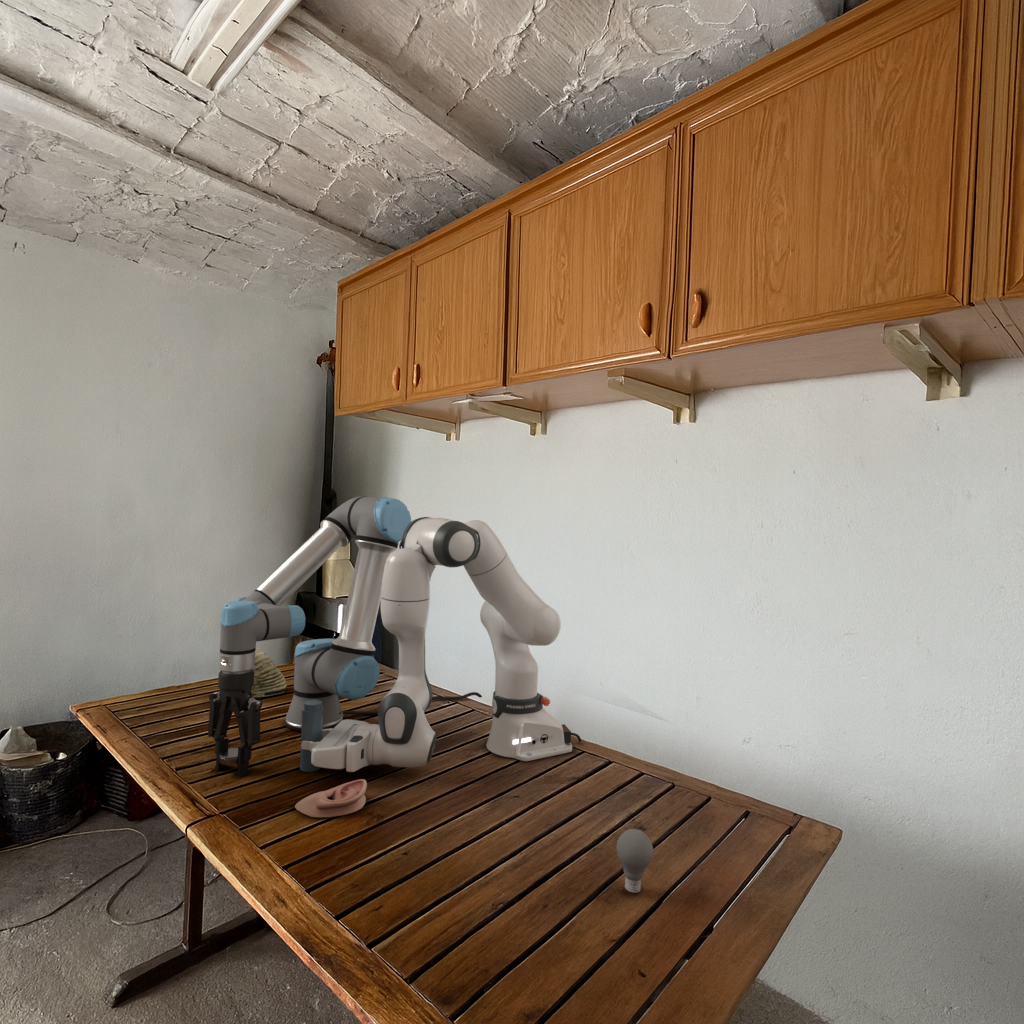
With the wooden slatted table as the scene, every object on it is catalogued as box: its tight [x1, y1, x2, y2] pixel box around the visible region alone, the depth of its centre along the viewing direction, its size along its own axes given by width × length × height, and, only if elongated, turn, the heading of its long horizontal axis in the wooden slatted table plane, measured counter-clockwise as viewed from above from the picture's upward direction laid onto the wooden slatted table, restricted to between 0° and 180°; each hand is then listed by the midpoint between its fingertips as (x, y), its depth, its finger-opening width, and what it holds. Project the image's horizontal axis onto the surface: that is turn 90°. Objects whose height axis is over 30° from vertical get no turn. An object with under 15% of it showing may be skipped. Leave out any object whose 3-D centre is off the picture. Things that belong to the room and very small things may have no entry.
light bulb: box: [615, 828, 654, 894], centre depth 106 cm, size 6×6×10 cm
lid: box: [219, 747, 238, 766], centre depth 144 cm, size 6×6×2 cm
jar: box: [299, 700, 324, 773], centre depth 148 cm, size 5×5×15 cm
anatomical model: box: [294, 778, 368, 819], centre depth 130 cm, size 13×4×12 cm
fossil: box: [251, 647, 288, 698], centre depth 198 cm, size 9×18×15 cm, turn 132°
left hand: (232, 771), depth 144 cm, fingers closed on lid, 5 cm apart
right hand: (307, 739), depth 148 cm, fingers closed on jar, 5 cm apart
